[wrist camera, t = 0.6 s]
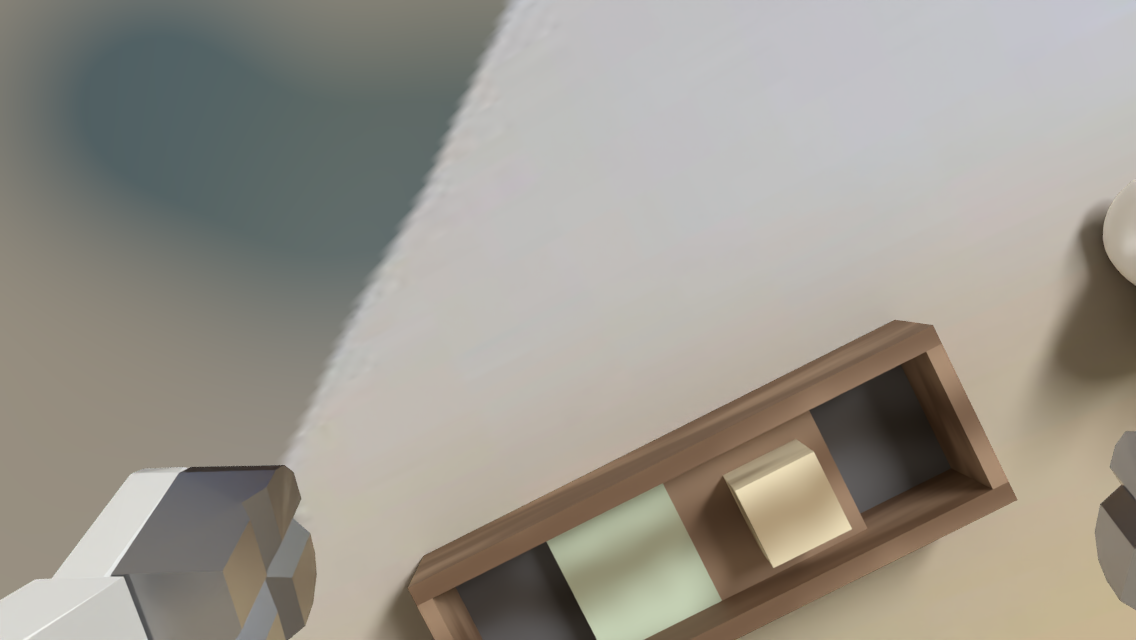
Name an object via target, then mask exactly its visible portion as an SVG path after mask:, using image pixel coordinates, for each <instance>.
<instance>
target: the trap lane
mask: <svg viewBox="0 0 1136 640" xmlns="http://www.w3.org/2000/svg"><path fill="white" fill-rule="evenodd" d="M795 439H797V440H798V441H800V442H801V443H802V444H804V445H805V446H807V447H808V448H809V449H811V450H812V451H814V453H815V455H816V457H817V459H818V461H819V463H820V465H821V467H822V469H823V471H824V473H825V475H826V477H827V479H828V481H829V483H830V485H831V487H832V489H833V491H834V493H835V495H836V498H837V500H838V502H839V504H840V506H841V508H842V510H843V512H844V514H845V516H846V518H847V520H848V522H849V524H850V526H851V528H852V529H851V530H849V531H847V532H845V533H843V534H841V535H839V536H837V537H835V538H833V539H831V540H829V541H827V542H825V543H823V544H821V545H819V546H817V547H815V548H813V549H811V550H809V551H807V552H805V553H803V554H801V555H799V556H797V557H795V558H793V559H791V560H789V561H787V562H785V563H783V564H781V565H779V566H777V567H775V568H773V567H772V565H771V564H770V562H769V561H768V560H767V558H766V557H765V555H764V554H763V553H762V551H761V550H760V548H759V547H758V545H757V543H756V541H755V539H754V537H753V535H752V533H751V531H750V529H749V527H748V525H747V523H746V521H745V519H744V517H743V515H742V513H741V511H740V509H739V507H738V505H737V503H736V501H735V499H734V497H733V495H732V493H731V491H730V489H729V487H728V485H727V483H726V481H725V479H724V477H723V475H724V474H726V473H728V472H730V471H732V470H734V469H736V468H738V467H740V466H742V465H744V464H746V463H748V462H750V461H752V460H754V459H756V458H758V457H761V456H763V455H765V454H767V453H769V452H771V451H773V450H775V449H777V448H779V447H781V446H783V445H785V444H787V443H789V442H791V441H793V440H795ZM1016 500H1017V498H1016V496H1015V494H1014V492H1013V490H1012V488H1011V486H1010V484H1009V482H1008V479H1007V477H1006V475H1005V473H1004V471H1003V469H1002V467H1001V465H1000V463H999V461H998V459H997V457H996V455H995V453H994V451H993V448H992V446H991V444H990V442H989V440H988V438H987V436H986V434H985V432H984V430H983V428H982V426H981V424H980V422H979V420H978V417H977V415H976V413H975V411H974V409H973V407H972V405H971V403H970V401H969V399H968V397H967V395H966V393H965V391H964V389H963V386H962V384H961V382H960V380H959V378H958V376H957V374H956V372H955V370H954V368H953V366H952V364H951V362H950V360H949V358H948V355H947V353H946V351H945V349H944V347H943V345H942V343H941V341H940V339H939V337H938V335H937V333H936V331H935V329H934V327H933V325H928V324H921V323H914V322H906V321H899V320H894V321H892V322H890V323H888V324H886V325H884V326H882V327H880V328H878V329H876V330H874V331H872V332H870V333H868V334H866V335H864V336H862V337H860V338H858V339H856V340H854V341H852V342H850V343H848V344H846V345H844V346H842V347H840V348H838V349H836V350H834V351H832V352H830V353H828V354H826V355H824V356H822V357H820V358H818V359H816V360H814V361H812V362H810V363H808V364H806V365H804V366H802V367H800V368H798V369H796V370H794V371H792V372H790V373H788V374H786V375H784V376H782V377H780V378H778V379H776V380H774V381H772V382H770V383H768V384H766V385H764V386H762V387H760V388H758V389H756V390H754V391H752V392H750V393H748V394H746V395H744V396H742V397H740V398H738V399H736V400H734V401H732V402H730V403H728V404H726V405H724V406H722V407H720V408H718V409H716V410H714V411H712V412H710V413H708V414H706V415H704V416H702V417H700V418H698V419H696V420H694V421H692V422H690V423H688V424H686V425H684V426H682V427H680V428H678V429H676V430H674V431H672V432H670V433H668V434H666V435H664V436H662V437H660V438H658V439H656V440H654V441H652V442H650V443H648V444H646V445H644V446H642V447H640V448H638V449H636V450H634V451H632V452H630V453H628V454H626V455H624V456H622V457H620V458H618V459H616V460H614V461H612V462H610V463H608V464H606V465H604V466H602V467H600V468H598V469H596V470H594V471H592V472H590V473H588V474H586V475H584V476H582V477H580V478H578V479H576V480H574V481H572V482H570V483H568V484H566V485H564V486H562V487H560V488H558V489H556V490H554V491H552V492H550V493H548V494H546V495H544V496H542V497H540V498H538V499H536V500H534V501H532V502H530V503H528V504H526V505H524V506H522V507H520V508H518V509H516V510H514V511H512V512H510V513H508V514H506V515H504V516H502V517H500V518H498V519H496V520H494V521H492V522H490V523H488V524H486V525H484V526H482V527H480V528H478V529H476V530H474V531H472V532H470V533H468V534H466V535H464V536H462V537H460V538H458V539H456V540H454V541H452V542H450V543H448V544H446V545H444V546H442V547H440V548H438V549H436V550H434V551H432V552H430V553H428V554H426V555H424V556H423V558H422V560H421V562H420V564H419V566H418V568H417V570H416V572H415V574H414V576H413V578H412V580H411V582H410V584H409V586H408V590H409V592H410V594H411V596H412V598H413V599H414V601H415V603H416V605H417V607H418V609H419V611H420V613H421V615H422V617H423V619H424V620H425V622H426V624H427V626H428V628H429V630H430V632H431V634H432V636H433V638H434V640H735V639H737V638H740V637H742V636H744V635H746V634H748V633H750V632H752V631H754V630H756V629H758V628H760V627H762V626H764V625H766V624H768V623H770V622H772V621H774V620H776V619H778V618H780V617H782V616H784V615H786V614H788V613H790V612H792V611H794V610H796V609H798V608H800V607H802V606H804V605H806V604H808V603H810V602H812V601H814V600H816V599H818V598H820V597H822V596H824V595H826V594H828V593H830V592H832V591H834V590H836V589H838V588H840V587H842V586H844V585H846V584H849V583H851V582H853V581H855V580H857V579H859V578H861V577H863V576H865V575H867V574H869V573H871V572H873V571H875V570H877V569H879V568H881V567H883V566H885V565H887V564H889V563H891V562H893V561H895V560H897V559H899V558H901V557H903V556H905V555H907V554H909V553H911V552H913V551H915V550H917V549H919V548H921V547H923V546H925V545H927V544H929V543H931V542H933V541H935V540H937V539H939V538H941V537H943V536H945V535H947V534H949V533H951V532H953V531H955V530H958V529H960V528H962V527H964V526H966V525H968V524H970V523H972V522H974V521H976V520H978V519H980V518H982V517H984V516H986V515H988V514H990V513H992V512H994V511H996V510H998V509H1000V508H1002V507H1004V506H1006V505H1008V504H1010V503H1012V502H1014V501H1016Z"/></svg>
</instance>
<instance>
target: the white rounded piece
mask: <svg viewBox="0 0 1136 640" xmlns="http://www.w3.org/2000/svg"><path fill="white" fill-rule="evenodd" d="M1103 242H1104V247H1105V250H1106V253H1107V255H1108V257H1109V259H1110V260H1111V262H1112V263H1113V264H1114V266H1115V267H1116V269H1117V270H1118V271H1119V272H1120V273H1121V274H1122V275H1123V276H1124V277H1125V278H1126V279H1127V280H1128V281H1130V282H1131V283H1133V284H1134V285H1135V286H1136V179H1135V180H1133V181H1132V182H1130V183H1129V184H1128V185H1127V186H1126V187H1125V188H1124V189H1123V190H1122V191H1121V192H1120V193H1119V194H1118V195H1117V196H1116V198H1115V199H1114V201H1113V202H1112V204H1111V205H1110V207H1109V209H1108V212H1107V215H1106V218H1105V220H1104V226H1103Z"/></svg>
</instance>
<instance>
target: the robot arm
mask: <svg viewBox="0 0 1136 640" xmlns="http://www.w3.org/2000/svg"><path fill="white" fill-rule="evenodd" d="M1110 468H1111V470H1112V471H1113V473H1114V474H1115V476H1116V477H1117V479H1118V480H1119V482H1120V483H1121V486H1120V487H1118V488H1117V489H1116V490H1115V491H1114V492H1113V493H1112V494H1111V495H1110V496H1109V497H1108V498H1106V499H1105V500H1104V501H1103V502H1102V503H1101V504H1100V508H1099V513H1098V518H1097V523H1096V529H1095V537H1096V545H1097V553H1098V560H1099V563H1100V565H1101V568H1102V570H1103V573H1104V575H1105V578H1106V580H1107V582H1108V583H1109V585H1110V586H1111V588H1112V589H1113V591H1114V592H1115V594H1116V595H1117V597H1118V598H1119V600H1120V601H1121V602H1123V603H1125V604H1126V605H1128V606H1130V607H1132V608H1133V609H1135V610H1136V431H1127V432H1125V433H1124V434H1123V436H1122V437H1121V438H1120V440H1119V441H1118V442H1117V444H1116V445H1115V449H1114V452H1113V456H1112V460H1111V464H1110ZM300 500H301V496H300V492H299V489H298V486H297V482H296V479H295V476H294V472H293V471H291V470H290V469H289V468H287V467H286V466H285V465H262V466H211V467H190V468H185V467H176V468H150V469H142V470H139V471H137V472H134V473H131V474H130V475H129V477H128V478H127V479H126V481H125V482H124V483H123V485H122V486H121V487H120V489H119V490H118V491H117V493H116V494H115V495H114V496H113V498H112V499H111V500H110V502H109V503H108V504H107V506H106V507H105V508H104V510H103V511H102V512H101V514H100V515H99V516H98V518H97V519H96V520H95V522H94V523H93V524H92V526H91V527H90V528H89V530H88V531H87V532H86V534H85V535H84V536H83V537H82V539H81V541H79V543H78V544H77V545H76V547H75V548H74V549H73V551H72V552H71V553H70V555H69V556H68V557H67V559H66V560H65V561H64V563H63V564H62V565H61V567H60V568H59V569H58V571H57V572H56V573H55V575H54V576H53V577H52V579H36V580H34V581H32V582H30V583H28V584H27V585H25V586H23V587H22V588H20V589H18V590H17V591H15V592H13V593H12V594H10V595H8V596H6V597H5V598H3V599H1V600H0V640H289V639H290V638H291V637H292V636H293V635H295V634H296V633H297V632H298V631H300V630H301V629H302V628H303V627H304V626H305V625H306V622H307V619H308V616H309V613H310V610H311V608H312V605H313V599H314V591H315V583H316V575H317V574H316V561H315V551H314V547H313V543H312V539H311V535H310V533H309V532H308V531H307V530H306V529H305V528H304V527H302V526H301V525H300V524H299V523H298V522H297V521H296V520H294V519H293V516H294V514H295V512H296V509H297V507H298V505H299V503H300Z"/></svg>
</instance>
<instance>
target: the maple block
mask: <svg viewBox="0 0 1136 640" xmlns="http://www.w3.org/2000/svg"><path fill="white" fill-rule="evenodd" d="M723 477H724V479H725V481H726V483H727V485H728V487H729V489H730V491H731V493H732V495H733V497H734V499H735V501H736V503H737V505H738V507H739V509H740V511H741V513H742V515H743V517H744V519H745V521H746V523H747V525H748V527H749V529H750V531H751V533H752V535H753V537H754V539H755V541H756V543H757V545H758V547H759V548H760V550H761V551H762V553H763V554H764V555H765V557H766V558H767V560H768V561H769V562H770V564H771V565H772V567H773V568H775V567H777V566H779V565H781V564H783V563H785V562H787V561H789V560H791V559H793V558H795V557H797V556H799V555H801V554H803V553H805V552H807V551H809V550H811V549H813V548H815V547H817V546H819V545H821V544H823V543H825V542H827V541H829V540H831V539H833V538H835V537H837V536H839V535H841V534H843V533H845V532H847V531H849V530H851V529H852V528H851V526H850V524H849V522H848V520H847V518H846V516H845V514H844V512H843V510H842V508H841V506H840V504H839V502H838V500H837V498H836V495H835V493H834V491H833V489H832V487H831V485H830V483H829V481H828V479H827V477H826V475H825V473H824V471H823V469H822V467H821V465H820V463H819V461H818V459H817V457H816V455H815V453H814V451H812V450H811V449H809V448H808V447H807V446H805V445H804V444H802V443H801V442H800V441H798V440H797V439H795V440H793V441H791V442H789V443H787V444H785V445H783V446H781V447H779V448H777V449H775V450H773V451H771V452H769V453H767V454H765V455H763V456H761V457H758V458H756V459H754V460H752V461H750V462H748V463H746V464H744V465H742V466H740V467H738V468H736V469H734V470H732V471H730V472H728V473H726V474H724V475H723Z"/></svg>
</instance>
